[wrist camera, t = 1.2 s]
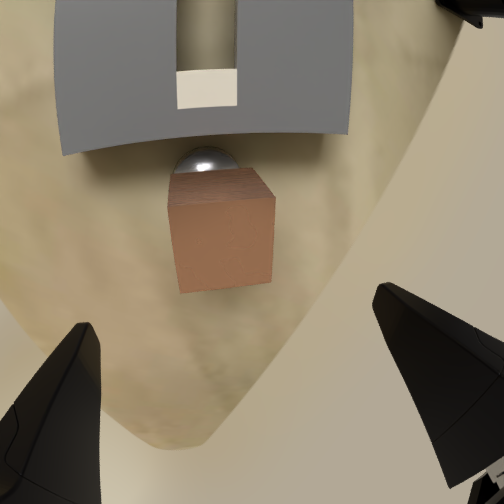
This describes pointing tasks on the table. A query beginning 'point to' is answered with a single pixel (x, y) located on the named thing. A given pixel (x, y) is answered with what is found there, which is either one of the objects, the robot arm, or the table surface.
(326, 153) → the table surface
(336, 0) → the keyhole plate
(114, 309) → the table surface
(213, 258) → the key peg
